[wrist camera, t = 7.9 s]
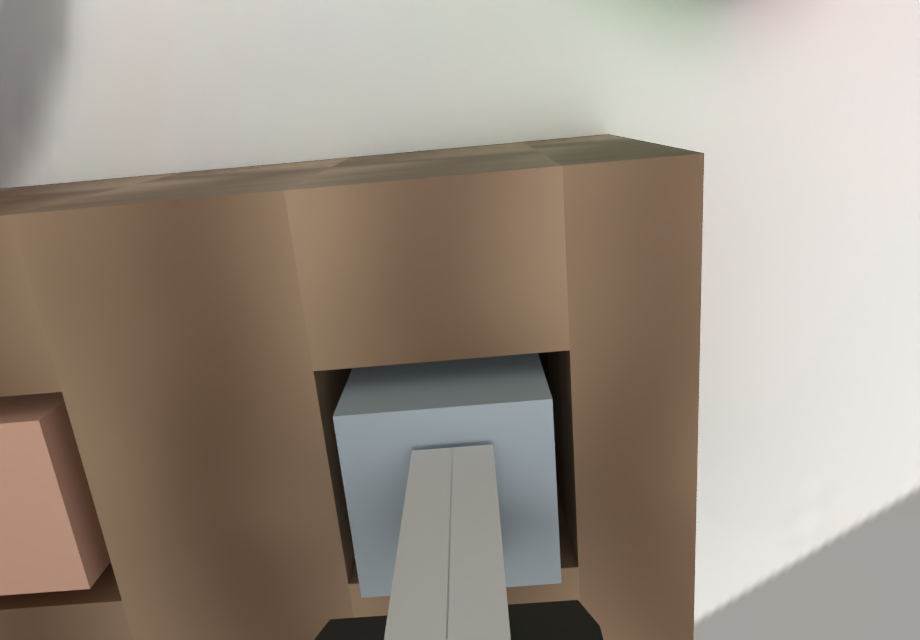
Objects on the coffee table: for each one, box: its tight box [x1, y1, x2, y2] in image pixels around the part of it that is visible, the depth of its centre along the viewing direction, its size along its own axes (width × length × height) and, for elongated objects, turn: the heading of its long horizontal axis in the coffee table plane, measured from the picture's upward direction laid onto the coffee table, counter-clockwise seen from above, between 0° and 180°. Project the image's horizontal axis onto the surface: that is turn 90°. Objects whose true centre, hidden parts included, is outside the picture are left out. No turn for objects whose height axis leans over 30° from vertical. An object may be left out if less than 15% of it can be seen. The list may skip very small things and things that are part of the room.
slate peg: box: [333, 353, 561, 598], centre depth 16 cm, size 4×4×8 cm
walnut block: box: [0, 134, 704, 640], centre depth 18 cm, size 20×12×8 cm, turn 95°
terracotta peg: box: [0, 392, 111, 596], centre depth 18 cm, size 4×4×8 cm
